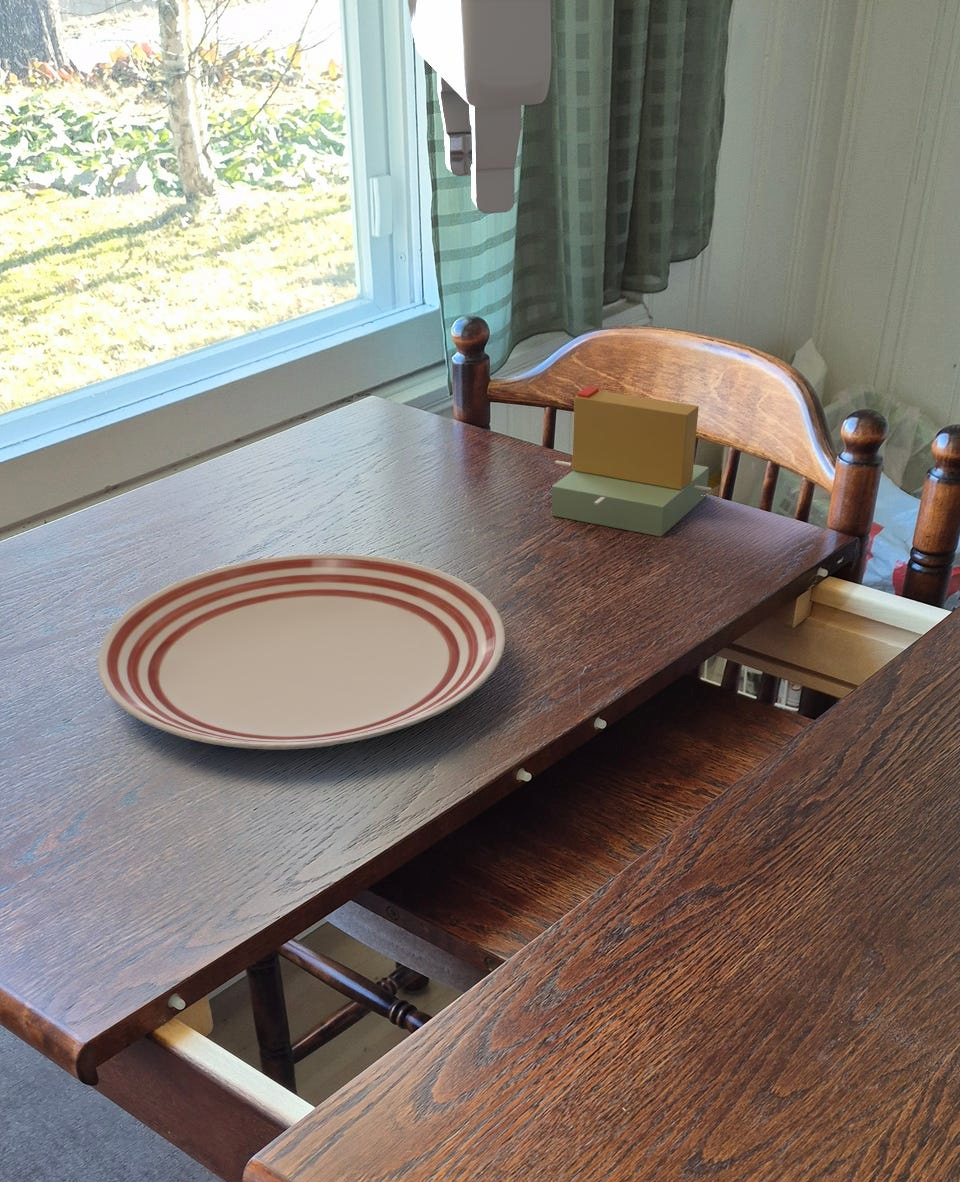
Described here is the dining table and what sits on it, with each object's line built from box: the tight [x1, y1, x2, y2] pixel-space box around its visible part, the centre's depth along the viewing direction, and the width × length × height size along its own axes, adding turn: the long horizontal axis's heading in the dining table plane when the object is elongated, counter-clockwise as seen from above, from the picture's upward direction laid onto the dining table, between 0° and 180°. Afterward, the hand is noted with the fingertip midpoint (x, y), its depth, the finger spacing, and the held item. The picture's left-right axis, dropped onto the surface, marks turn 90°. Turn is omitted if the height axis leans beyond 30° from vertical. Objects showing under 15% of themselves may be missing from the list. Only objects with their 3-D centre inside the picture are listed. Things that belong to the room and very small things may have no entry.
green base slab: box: [551, 460, 713, 538], centre depth 121 cm, size 14×14×3 cm
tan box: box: [571, 386, 699, 490], centre depth 118 cm, size 10×2×6 cm, turn 62°
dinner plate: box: [97, 553, 506, 750], centre depth 98 cm, size 27×27×3 cm
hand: (478, 191), depth 70 cm, fingers open, 8 cm apart
